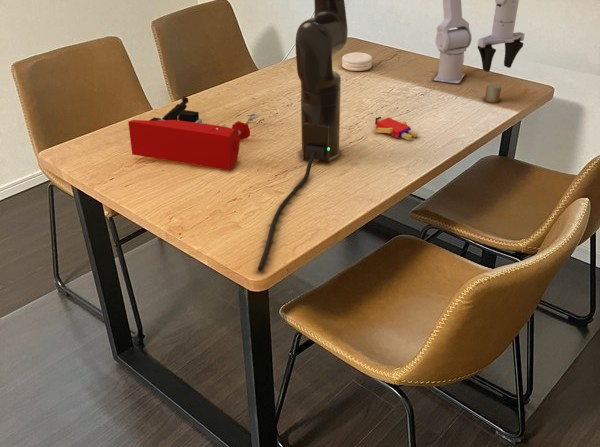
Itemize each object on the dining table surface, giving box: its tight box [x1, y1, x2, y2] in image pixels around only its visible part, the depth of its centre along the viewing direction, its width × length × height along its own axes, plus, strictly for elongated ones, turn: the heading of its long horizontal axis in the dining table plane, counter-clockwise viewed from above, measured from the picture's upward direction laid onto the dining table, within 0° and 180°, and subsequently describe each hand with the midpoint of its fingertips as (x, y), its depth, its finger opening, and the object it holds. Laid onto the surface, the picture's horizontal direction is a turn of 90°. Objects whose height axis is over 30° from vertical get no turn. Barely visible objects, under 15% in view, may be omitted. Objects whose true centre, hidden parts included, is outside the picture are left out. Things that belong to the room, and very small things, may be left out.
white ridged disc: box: [341, 52, 373, 72], centre depth 207 cm, size 10×10×4 cm
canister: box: [484, 82, 502, 104], centre depth 180 cm, size 4×4×4 cm
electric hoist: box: [127, 96, 260, 171], centre depth 159 cm, size 10×27×30 cm
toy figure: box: [374, 116, 418, 141], centre depth 162 cm, size 2×7×12 cm
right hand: (496, 68), depth 177 cm, fingers open, 7 cm apart
